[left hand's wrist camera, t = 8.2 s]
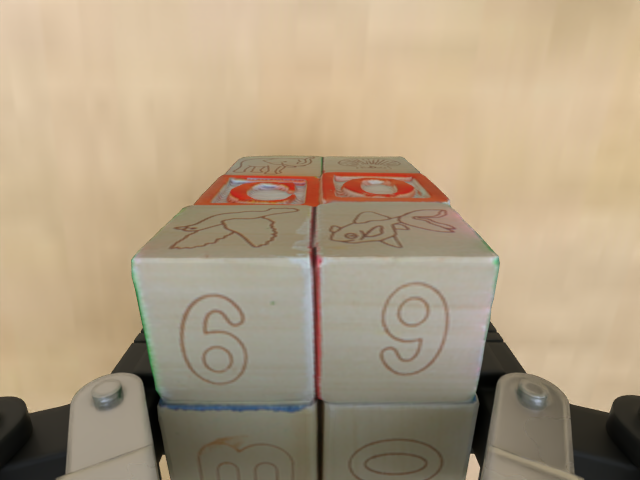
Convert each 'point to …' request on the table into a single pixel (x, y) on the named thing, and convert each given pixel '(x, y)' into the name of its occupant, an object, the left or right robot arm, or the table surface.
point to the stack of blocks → (317, 324)
